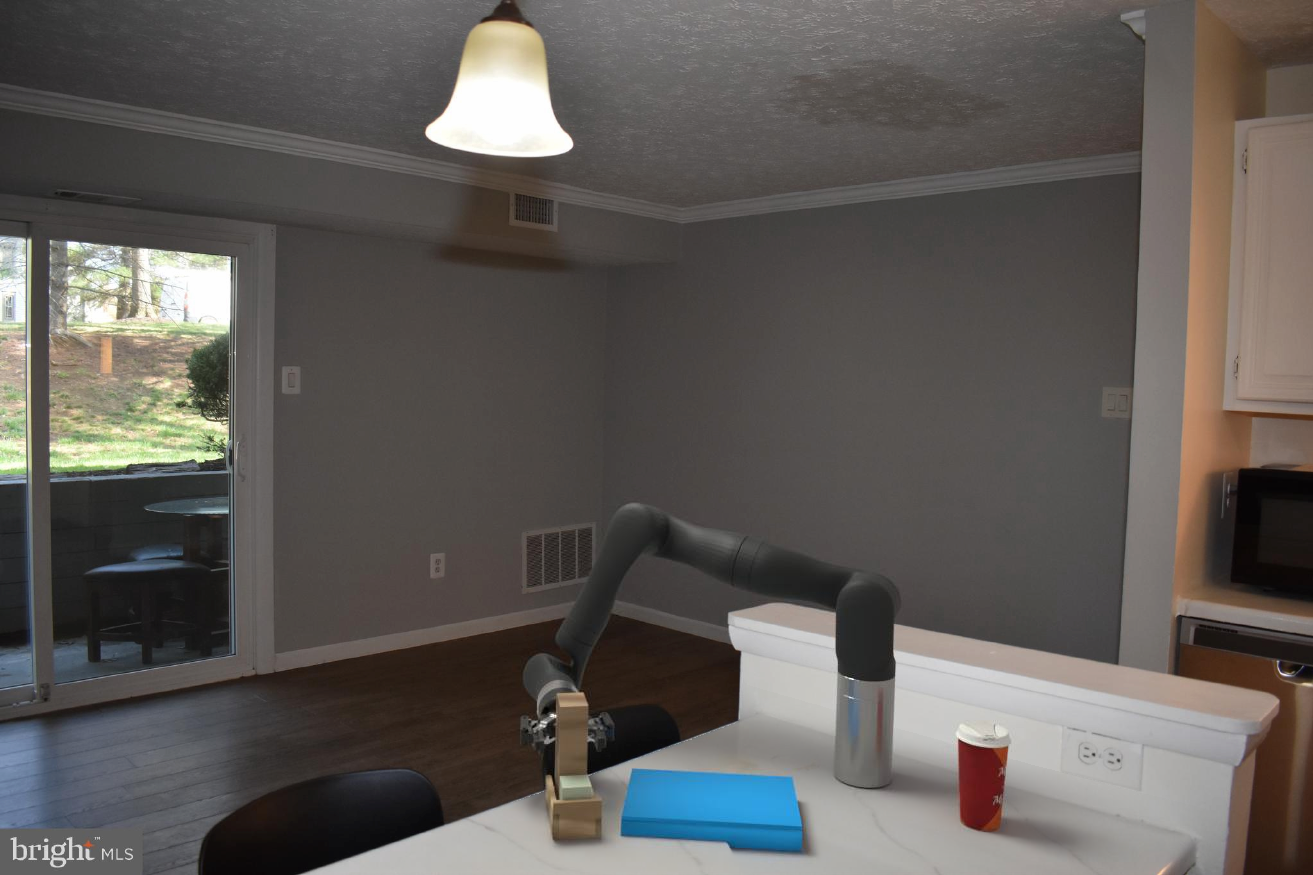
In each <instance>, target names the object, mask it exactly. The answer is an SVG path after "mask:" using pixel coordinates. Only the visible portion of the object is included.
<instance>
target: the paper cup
mask: <svg viewBox="0 0 1313 875" xmlns="http://www.w3.org/2000/svg"><path fill="white" fill-rule="evenodd" d="M955 736H956V738H957V760H958V762H957V763H958V799H959V800H958V801H959V802H958V803H959V804H958V805H959V821H960V823H961V824H962V825H964V826H965V827H967V828H969V829H972V830H976V831H981V832H993V831H994V832H995V831H997V830H998V829H1000V826H1001V820H1002V812H1003V811H1002V810H1003V801H1004V793H1005V784H1006V772H1007V766H1008V754H1009V746H1010V745H1011V744H1012V739H1011V737H1010V736H1009V731H1008V730H1007V729H1006V728H1005V727H1003V726H1002V725H999V724H995V723H991V722H988V721H987V722H986V721H980V720H979V721H977V720H975V721H974V720H972V721H971V720H970V721H965V722H961V723H960V724H959V726H958V730H957V731H956V732H955Z"/></svg>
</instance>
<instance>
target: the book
mask: <svg viewBox="0 0 1313 875" xmlns="http://www.w3.org/2000/svg"><path fill="white" fill-rule="evenodd" d="M794 782H795V781H794V778H793V776H783V775H782V776H781V775H765V774H763V775H762V774H745V773H728V772H727V773H725V772H724V773H723V772H705V771H689V770H688V771H687V770H672V769H671V770H669V769H667V770H666V769H649V768H632V769H631V773H630V777H629V781H628V786H627V789H626V790H627V791H626V794H625V795H626V796H625V798H624V804H623V808H622V813H621V816H620V817H621V819H620V820H621V822H620V836H629V837H645V838H660V839H661V838H662V839H663V838H664V839H665V838H666V839H682V840H698V841H699V840H700V841H701V840H702V841H713V842H714V841H716V842H717V841H718V842H726V843H727V846H728V847H729V848H737V849H738V848H740V849H757V850H758V849H759V850H774V851H791V852H802V851H803V823H802V818H801V813H800V809H799V808H800V807H799V804H798V798H797V794H796V788H795V784H794Z"/></svg>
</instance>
